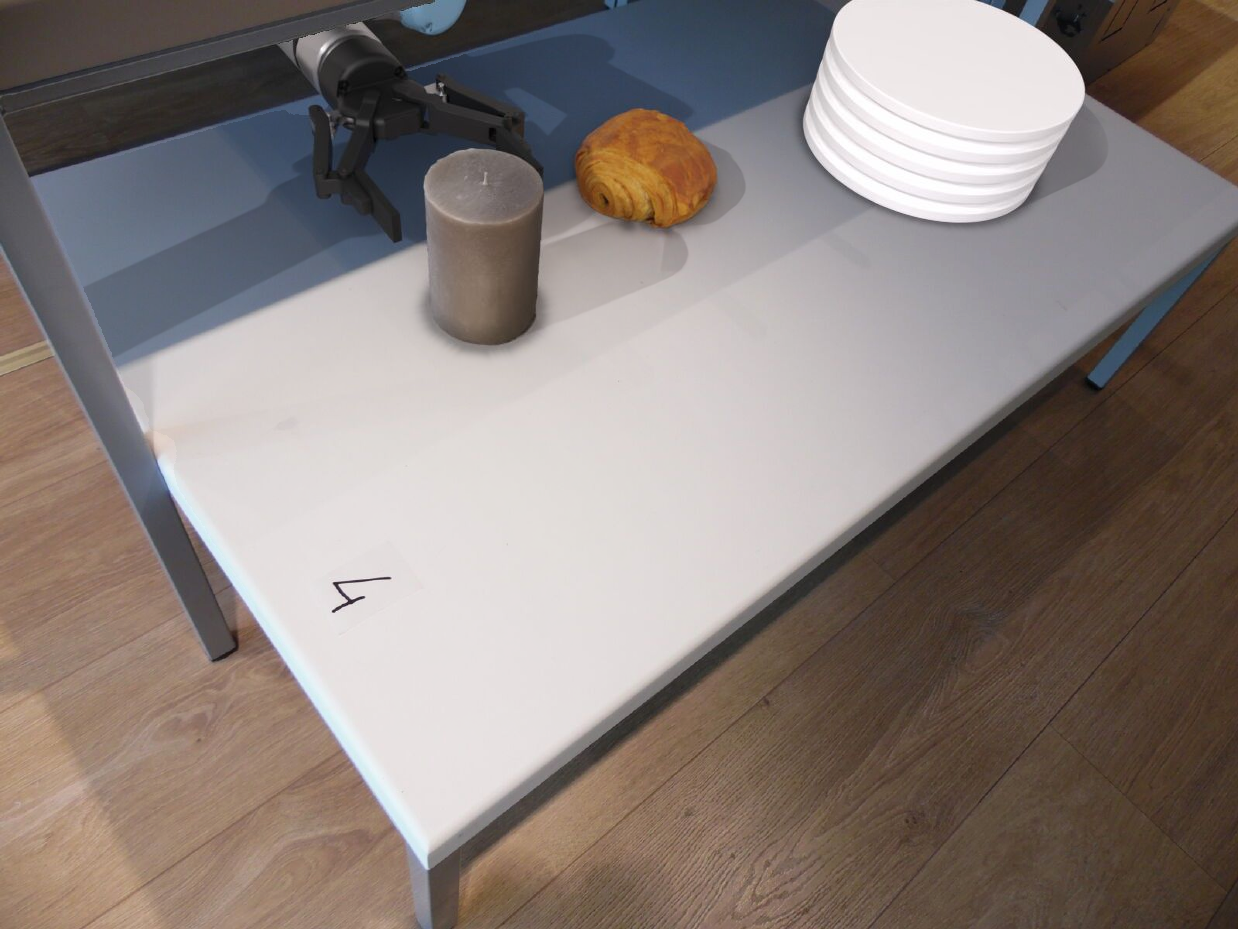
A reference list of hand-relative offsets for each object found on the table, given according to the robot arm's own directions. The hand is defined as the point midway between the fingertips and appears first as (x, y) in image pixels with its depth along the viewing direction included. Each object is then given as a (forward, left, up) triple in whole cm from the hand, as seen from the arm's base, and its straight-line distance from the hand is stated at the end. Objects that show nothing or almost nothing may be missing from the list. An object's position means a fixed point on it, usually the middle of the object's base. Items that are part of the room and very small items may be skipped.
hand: (470, 204), depth 77 cm
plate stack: (+47, +36, -10) cm, 60 cm away
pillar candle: (+1, -1, -10) cm, 11 cm away
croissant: (+15, +20, -10) cm, 27 cm away
